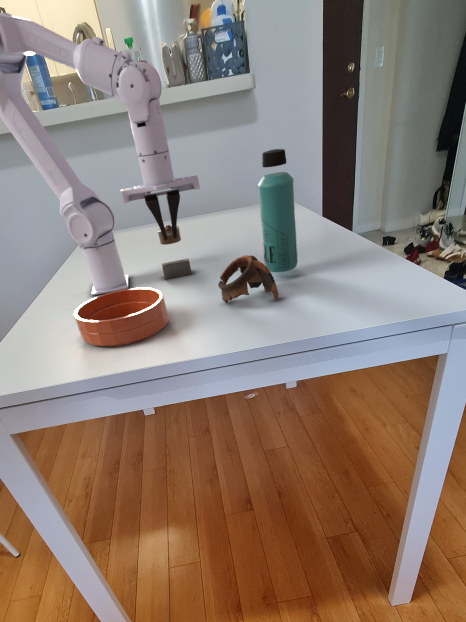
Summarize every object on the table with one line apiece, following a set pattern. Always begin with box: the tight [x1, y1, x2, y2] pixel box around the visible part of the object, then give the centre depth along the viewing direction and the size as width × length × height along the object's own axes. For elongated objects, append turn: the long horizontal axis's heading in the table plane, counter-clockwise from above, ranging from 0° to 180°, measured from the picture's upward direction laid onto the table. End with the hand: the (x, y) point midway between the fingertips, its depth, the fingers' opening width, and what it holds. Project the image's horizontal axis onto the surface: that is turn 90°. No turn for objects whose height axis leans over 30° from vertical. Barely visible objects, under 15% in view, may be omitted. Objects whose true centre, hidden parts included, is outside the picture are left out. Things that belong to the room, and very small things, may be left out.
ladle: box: [157, 224, 182, 246], centre depth 96 cm, size 19×5×6 cm, turn 9°
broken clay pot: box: [217, 254, 280, 304], centre depth 81 cm, size 12×10×8 cm
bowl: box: [73, 287, 169, 347], centre depth 78 cm, size 15×15×4 cm
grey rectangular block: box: [161, 258, 192, 280], centre depth 99 cm, size 2×6×3 cm, turn 100°
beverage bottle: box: [257, 148, 299, 273], centre depth 83 cm, size 6×7×20 cm
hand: (170, 238), depth 90 cm, fingers closed on ladle
